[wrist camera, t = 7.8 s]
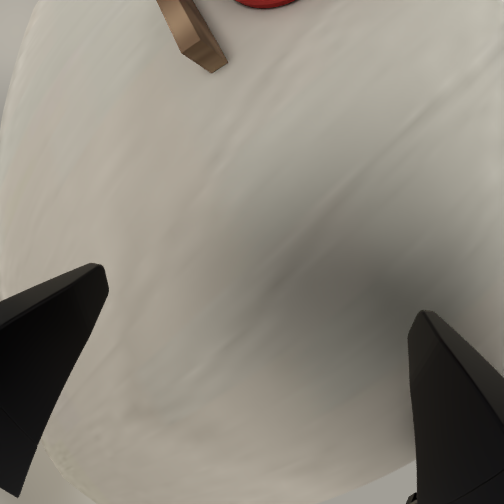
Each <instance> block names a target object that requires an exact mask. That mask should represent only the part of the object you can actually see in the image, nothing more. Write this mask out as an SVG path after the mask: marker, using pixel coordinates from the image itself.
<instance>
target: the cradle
mask: <svg viewBox="0 0 504 504" xmlns="http://www.w3.org/2000/svg"><path fill="white" fill-rule="evenodd" d="M156 1H157V3H158V5H159V7H160V9H161V11H162V13H163V15H164V17H165V20H166V22H167V24H168V26H169V28H170V30H171V32H172V34H173V37H174V39H175V41H176V43H177V45H178V47H179V49H180V51H181V53H182V54H183V55H185V56H186V57H188V58H189V59H191V60H192V61H194V62H195V63H197V64H198V65H200V66H201V67H203V68H204V69H206V70H207V71H209V72H210V73H213V72H214V71H216V70H217V69H219V68H220V67H222V66H224V65H225V64H227V63H228V61H227V59H226V58H225V56H224V54H223V52H222V50H221V49H220V47H219V45H218V43H217V42H216V40H215V38H214V36H213V35H212V33H211V31H210V29H209V28H208V26H207V24H206V22H205V21H204V19H203V17H202V16H201V14H200V12H199V11H198V9H197V7H196V6H195V4H194V2H193V1H192V0H156Z"/></svg>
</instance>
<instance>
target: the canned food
mask: <svg viewBox="0 0 504 504" xmlns="http://www.w3.org/2000/svg"><path fill="white" fill-rule="evenodd" d="M236 1H238V2H240V3H242V4H244V5H246V6H250V7H254V8H272V7H278V6H282V5H285V4H288V3H290V2H292V1H295V0H236Z"/></svg>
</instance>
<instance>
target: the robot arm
mask: <svg viewBox="0 0 504 504" xmlns="http://www.w3.org/2000/svg"><path fill="white" fill-rule="evenodd" d="M108 293H109V286H108V282H107V278H106V274H105V269H104V267H103V266H102V265H100V264H95V263H89V264H86V265H84V266H81V267H79V268H76V269H74V270H72V271H69V272H67V273H64V274H62V275H60V276H57V277H55V278H53V279H50V280H48V281H46V282H43V283H41V284H39V285H36V286H34V287H32V288H29V289H27V290H25V291H23V292H20V293H18V294H16V295H14V296H11V297H9V298H7V299H5V300H3V301H1V302H0V488H2V489H3V490H5V491H7V492H8V493H10V494H12V495H14V496H15V497H17V498H18V497H19V495H20V493H21V490H22V487H23V484H24V481H25V478H26V476H27V472H28V470H29V467H30V465H31V462H32V459H33V457H34V454H35V452H36V449H37V445H38V443H39V441H40V439H41V436H42V434H43V432H44V429H45V427H46V425H47V422H48V420H49V418H50V415H51V413H52V411H53V409H54V407H55V404H56V402H57V400H58V398H59V396H60V394H61V392H62V390H63V387H64V385H65V383H66V381H67V379H68V377H69V375H70V373H71V371H72V369H73V367H74V365H75V363H76V361H77V359H78V358H79V356H80V354H81V352H82V350H83V348H84V346H85V344H86V342H87V341H88V339H89V337H90V335H91V332H92V330H93V328H94V326H95V323H96V321H97V319H98V316H99V314H100V312H101V309H102V307H103V305H104V303H105V301H106V298H107V296H108ZM408 354H409V379H410V392H411V401H412V410H413V421H414V431H415V445H416V464H417V493H414V494H412V495H411V496H409V497H408V500H407V502H406V504H504V378H503V377H502V376H501V375H500V374H499V373H498V372H497V371H496V370H495V369H494V368H493V367H492V366H491V365H490V364H489V363H488V362H487V361H486V360H485V359H484V358H483V357H482V356H481V355H480V354H479V353H478V352H477V351H476V350H475V349H474V348H473V347H472V346H471V345H470V344H469V343H468V342H467V341H466V340H464V339H463V338H462V337H461V336H460V335H459V334H458V333H457V332H456V331H455V330H454V329H453V328H452V327H450V326H449V325H448V324H447V323H446V322H445V321H444V320H443V319H442V318H441V317H439V316H438V315H437V314H436V313H435V312H433V311H427V310H421V311H420V312H419V313H418V314H417V316H416V318H415V320H414V323H413V325H412V327H411V329H410V331H409V334H408Z"/></svg>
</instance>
